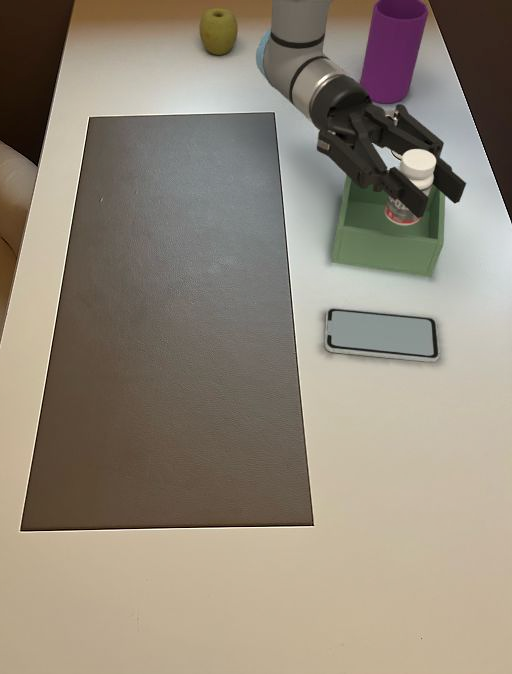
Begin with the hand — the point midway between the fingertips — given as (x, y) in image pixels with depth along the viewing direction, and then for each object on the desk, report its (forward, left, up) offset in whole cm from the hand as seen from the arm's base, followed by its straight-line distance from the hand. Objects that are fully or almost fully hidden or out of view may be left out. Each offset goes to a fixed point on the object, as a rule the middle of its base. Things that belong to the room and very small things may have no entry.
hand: (441, 200), depth 73 cm
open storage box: (+4, -13, -18) cm, 23 cm away
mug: (+7, -56, -18) cm, 59 cm away
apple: (+41, -61, -18) cm, 76 cm away
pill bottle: (+3, -4, -6) cm, 8 cm away
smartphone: (+3, +7, -18) cm, 20 cm away
